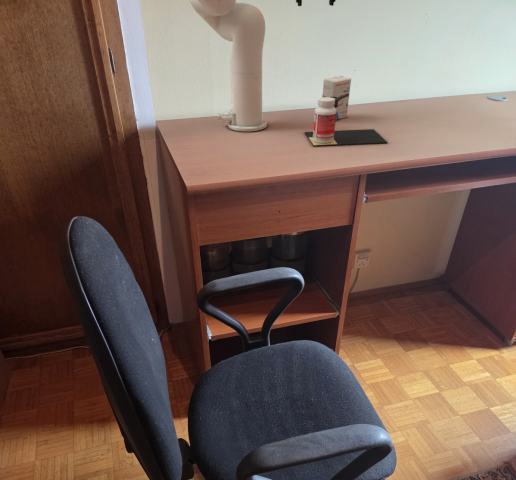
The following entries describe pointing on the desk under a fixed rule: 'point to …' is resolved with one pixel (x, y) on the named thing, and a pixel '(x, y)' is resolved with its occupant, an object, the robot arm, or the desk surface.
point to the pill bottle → (324, 120)
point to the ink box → (338, 93)
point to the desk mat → (351, 138)
